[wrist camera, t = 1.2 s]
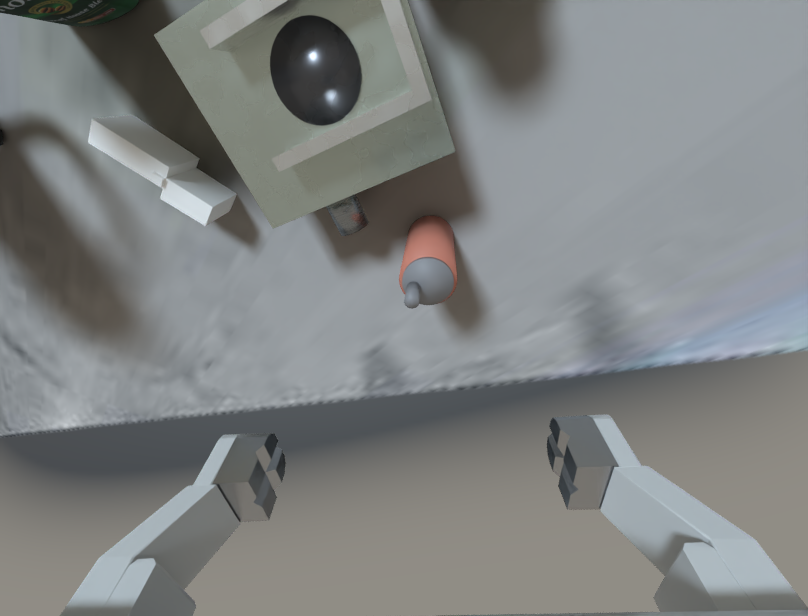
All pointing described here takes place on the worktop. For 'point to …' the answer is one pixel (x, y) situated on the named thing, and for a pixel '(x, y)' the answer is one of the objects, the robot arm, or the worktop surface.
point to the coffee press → (1, 138)
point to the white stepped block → (162, 166)
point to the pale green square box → (311, 98)
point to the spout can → (428, 263)
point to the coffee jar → (69, 10)
